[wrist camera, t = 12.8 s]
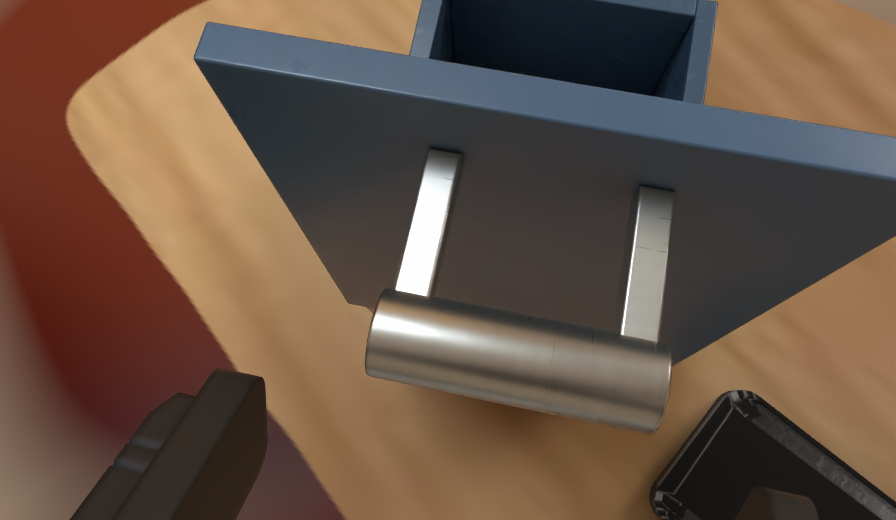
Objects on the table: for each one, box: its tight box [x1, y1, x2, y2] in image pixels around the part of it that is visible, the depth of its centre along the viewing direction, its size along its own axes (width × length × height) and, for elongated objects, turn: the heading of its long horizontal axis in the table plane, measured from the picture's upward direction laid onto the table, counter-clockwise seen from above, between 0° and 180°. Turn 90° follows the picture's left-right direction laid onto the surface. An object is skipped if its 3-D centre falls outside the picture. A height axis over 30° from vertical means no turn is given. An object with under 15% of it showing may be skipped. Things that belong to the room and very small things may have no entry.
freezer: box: [367, 0, 718, 313], centre depth 34 cm, size 16×13×9 cm
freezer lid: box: [194, 22, 896, 435], centre depth 19 cm, size 17×13×5 cm
